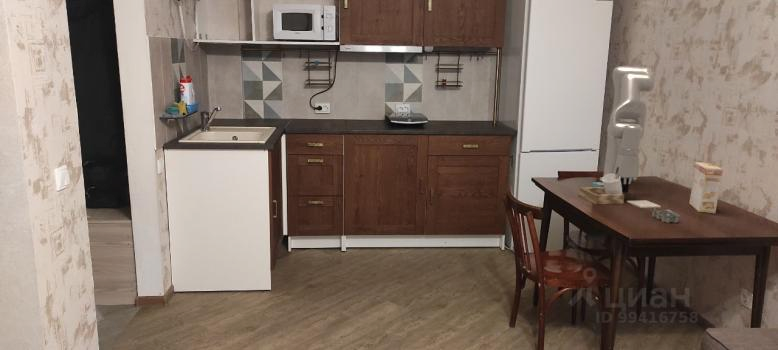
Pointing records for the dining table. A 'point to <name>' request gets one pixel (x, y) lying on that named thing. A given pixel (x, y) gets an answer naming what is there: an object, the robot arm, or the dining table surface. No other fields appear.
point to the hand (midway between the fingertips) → (624, 192)
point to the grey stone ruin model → (665, 215)
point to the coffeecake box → (705, 187)
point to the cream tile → (644, 204)
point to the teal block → (597, 184)
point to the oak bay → (600, 196)
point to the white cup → (612, 184)
